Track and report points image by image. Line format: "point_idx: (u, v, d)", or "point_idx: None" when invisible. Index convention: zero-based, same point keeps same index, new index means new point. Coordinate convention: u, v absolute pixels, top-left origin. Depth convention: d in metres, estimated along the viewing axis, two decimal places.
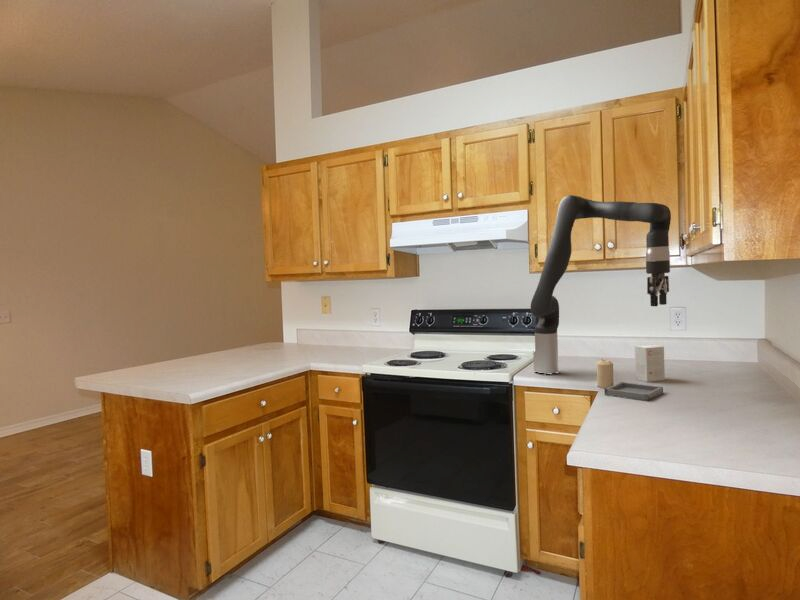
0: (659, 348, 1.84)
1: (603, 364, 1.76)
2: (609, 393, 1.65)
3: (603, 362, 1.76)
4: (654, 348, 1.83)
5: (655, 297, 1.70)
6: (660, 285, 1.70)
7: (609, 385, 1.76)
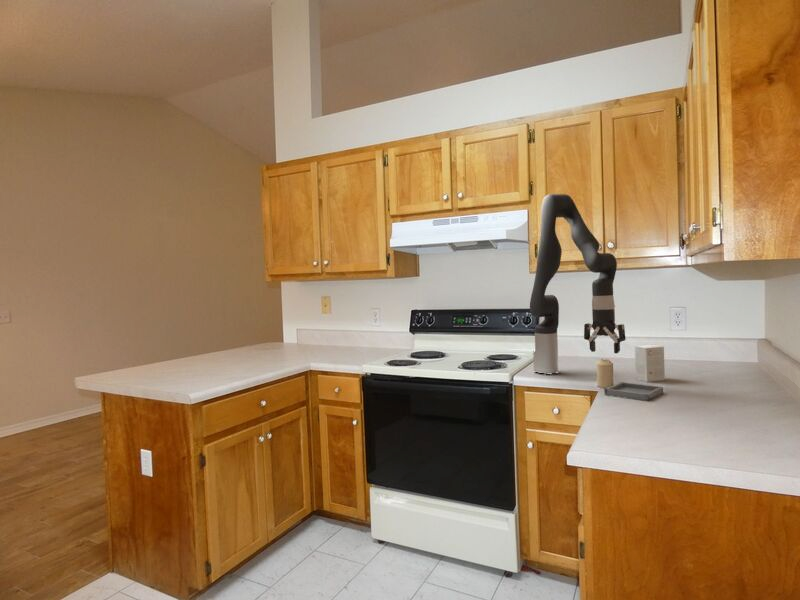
0: (659, 348, 1.84)
1: (603, 364, 1.76)
2: (609, 393, 1.65)
3: (603, 362, 1.76)
4: (654, 348, 1.83)
5: None
6: None
7: (609, 385, 1.76)
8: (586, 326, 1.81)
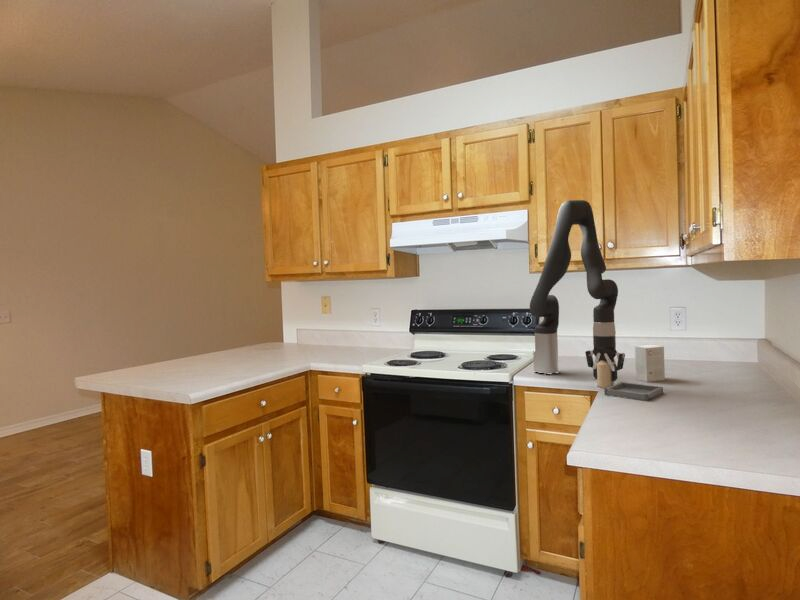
0: (659, 348, 1.84)
1: (603, 364, 1.76)
2: (609, 393, 1.65)
3: (603, 362, 1.76)
4: (654, 348, 1.83)
5: None
6: None
7: (609, 385, 1.76)
8: (587, 353, 1.81)
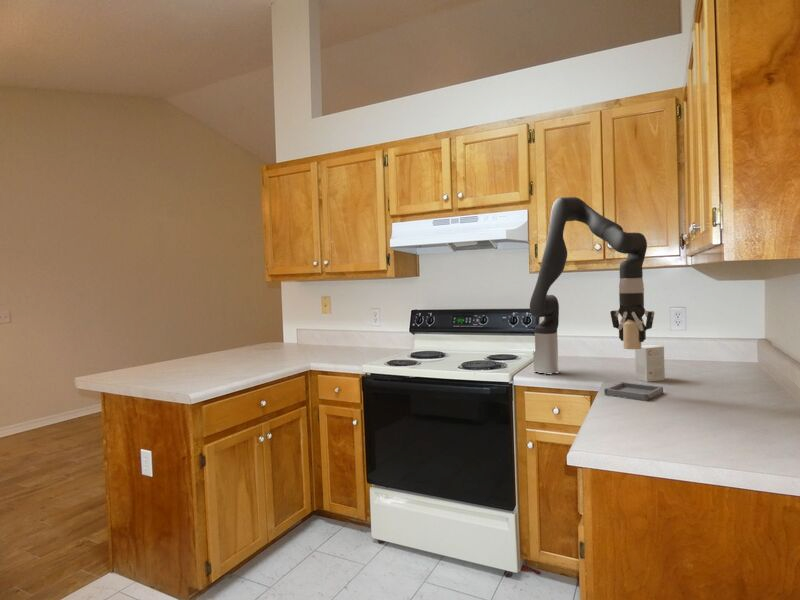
0: (659, 348, 1.84)
1: (630, 323, 1.63)
2: (609, 393, 1.65)
3: (630, 321, 1.64)
4: (654, 348, 1.83)
5: None
6: (641, 318, 1.65)
7: (637, 346, 1.63)
8: (612, 313, 1.69)
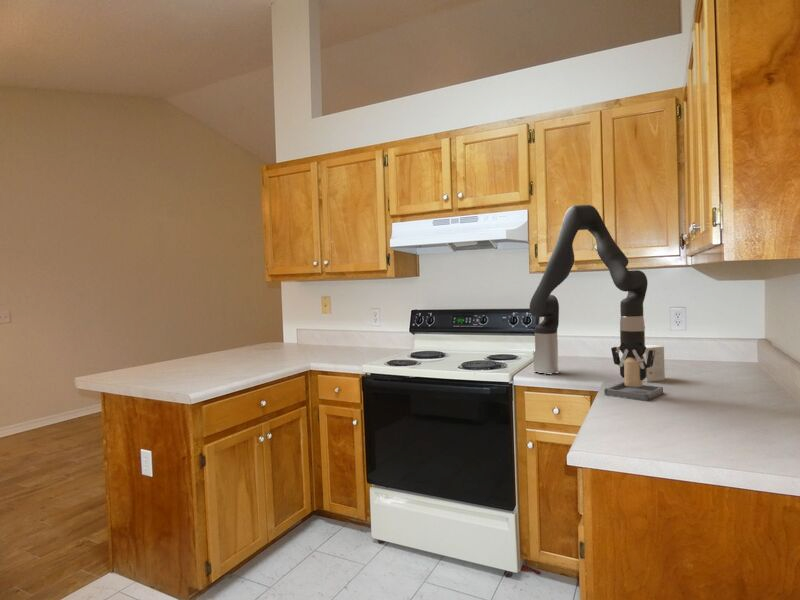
0: (659, 348, 1.84)
1: (631, 361, 1.64)
2: (609, 393, 1.65)
3: (631, 359, 1.64)
4: (654, 348, 1.83)
5: None
6: (642, 356, 1.65)
7: (638, 384, 1.63)
8: (613, 350, 1.69)
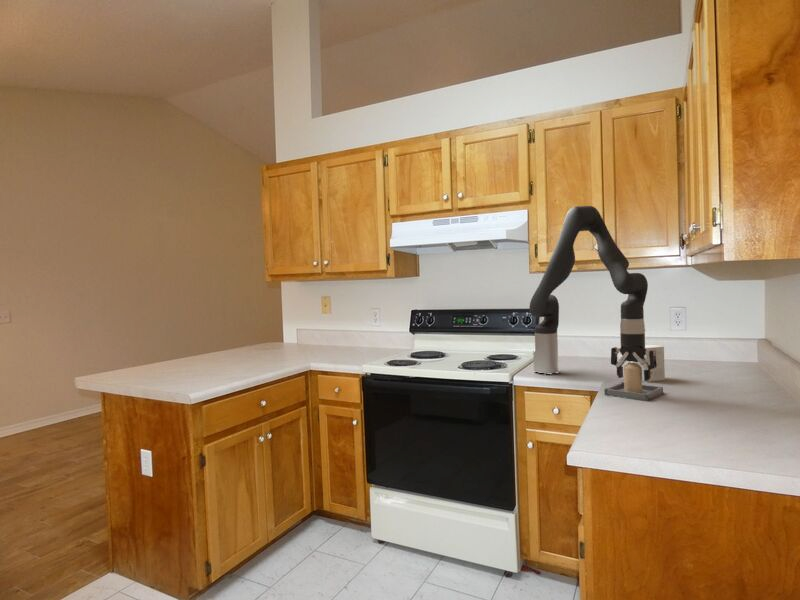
0: (659, 348, 1.84)
1: (631, 368, 1.64)
2: (609, 393, 1.65)
3: (631, 366, 1.64)
4: (654, 348, 1.83)
5: None
6: None
7: (638, 390, 1.64)
8: (613, 350, 1.69)
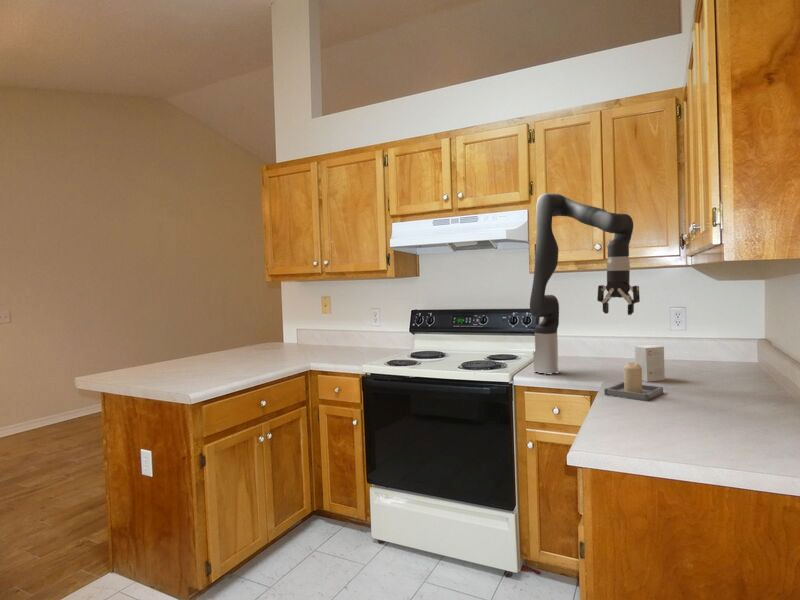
0: (659, 348, 1.84)
1: (631, 368, 1.64)
2: (609, 393, 1.65)
3: (631, 366, 1.64)
4: (654, 348, 1.83)
5: None
6: None
7: (638, 390, 1.64)
8: (600, 288, 1.80)
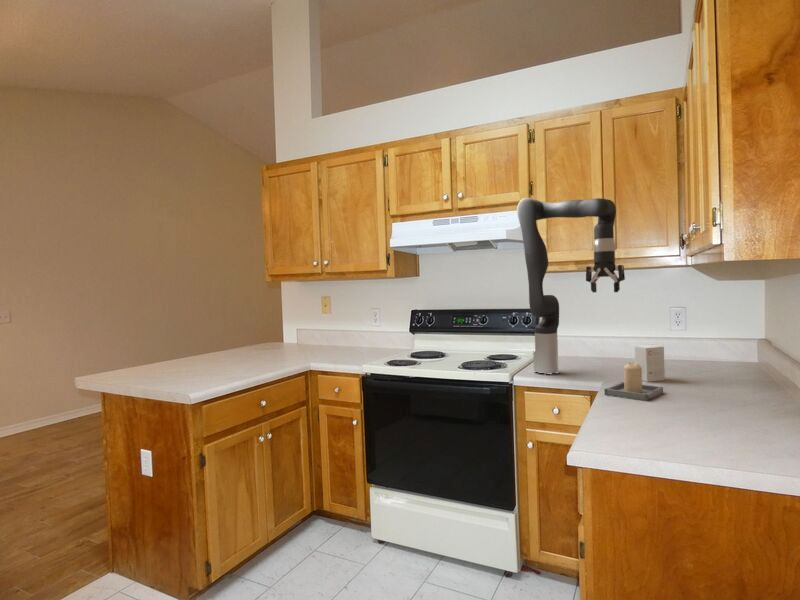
0: (659, 348, 1.84)
1: (631, 368, 1.64)
2: (609, 393, 1.65)
3: (631, 366, 1.64)
4: (654, 348, 1.83)
5: None
6: None
7: (638, 390, 1.64)
8: (588, 269, 1.93)
